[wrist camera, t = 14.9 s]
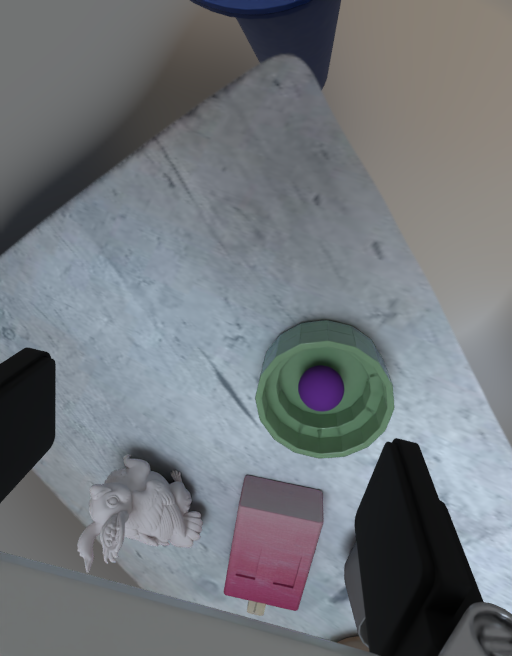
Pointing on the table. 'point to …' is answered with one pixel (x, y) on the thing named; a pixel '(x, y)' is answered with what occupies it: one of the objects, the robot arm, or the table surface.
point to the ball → (321, 388)
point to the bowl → (354, 643)
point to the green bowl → (358, 400)
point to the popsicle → (273, 543)
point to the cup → (356, 593)
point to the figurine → (139, 511)
